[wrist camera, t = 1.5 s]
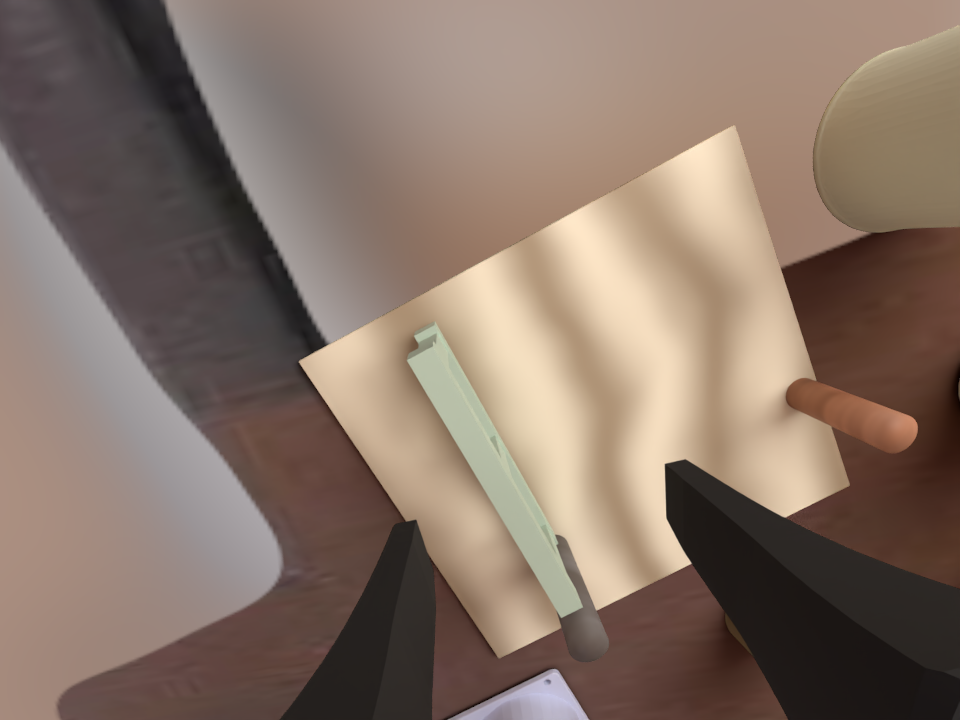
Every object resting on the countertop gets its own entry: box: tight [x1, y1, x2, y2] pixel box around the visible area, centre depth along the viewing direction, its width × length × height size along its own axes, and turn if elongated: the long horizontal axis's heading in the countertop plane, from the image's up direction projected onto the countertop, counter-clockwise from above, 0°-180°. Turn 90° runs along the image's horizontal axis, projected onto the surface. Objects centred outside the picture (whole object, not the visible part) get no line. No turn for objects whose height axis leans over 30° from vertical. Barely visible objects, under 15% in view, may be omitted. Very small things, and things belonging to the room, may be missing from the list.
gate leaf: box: [407, 321, 583, 618], centre depth 23 cm, size 15×1×6 cm, turn 28°
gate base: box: [299, 125, 918, 662], centre depth 24 cm, size 26×24×8 cm
